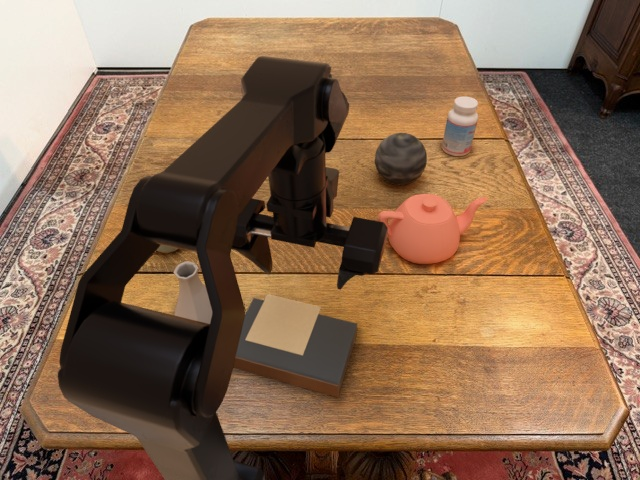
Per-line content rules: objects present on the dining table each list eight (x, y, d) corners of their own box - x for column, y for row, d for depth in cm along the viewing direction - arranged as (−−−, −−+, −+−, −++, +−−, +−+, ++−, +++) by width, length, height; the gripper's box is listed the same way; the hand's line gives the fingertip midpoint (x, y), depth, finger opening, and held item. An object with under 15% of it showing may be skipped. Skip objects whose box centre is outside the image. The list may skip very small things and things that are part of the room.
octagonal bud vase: (165, 319, 72) (147, 276, 64) (198, 287, 76) (184, 244, 69) (201, 340, 69) (187, 298, 62) (233, 306, 73) (223, 263, 66)
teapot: (369, 222, 86) (372, 181, 79) (465, 214, 87) (476, 173, 80) (382, 272, 77) (387, 231, 71) (488, 263, 79) (503, 221, 72)
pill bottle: (470, 158, 99) (482, 111, 91) (440, 155, 100) (450, 107, 92) (470, 143, 104) (481, 95, 96) (441, 139, 105) (451, 93, 97)
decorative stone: (426, 169, 97) (434, 127, 90) (418, 199, 90) (426, 156, 83) (378, 161, 99) (382, 119, 92) (367, 190, 93) (371, 147, 85)
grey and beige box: (338, 397, 62) (338, 385, 60) (227, 366, 66) (224, 354, 64) (358, 328, 70) (359, 316, 68) (258, 303, 73) (256, 291, 71)
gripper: (402, 149, 51) (389, 247, 62) (242, 125, 55) (257, 221, 66) (383, 219, 44) (373, 315, 55) (199, 186, 47) (225, 282, 59)
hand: (304, 278), depth 59 cm, fingers open, 9 cm apart
